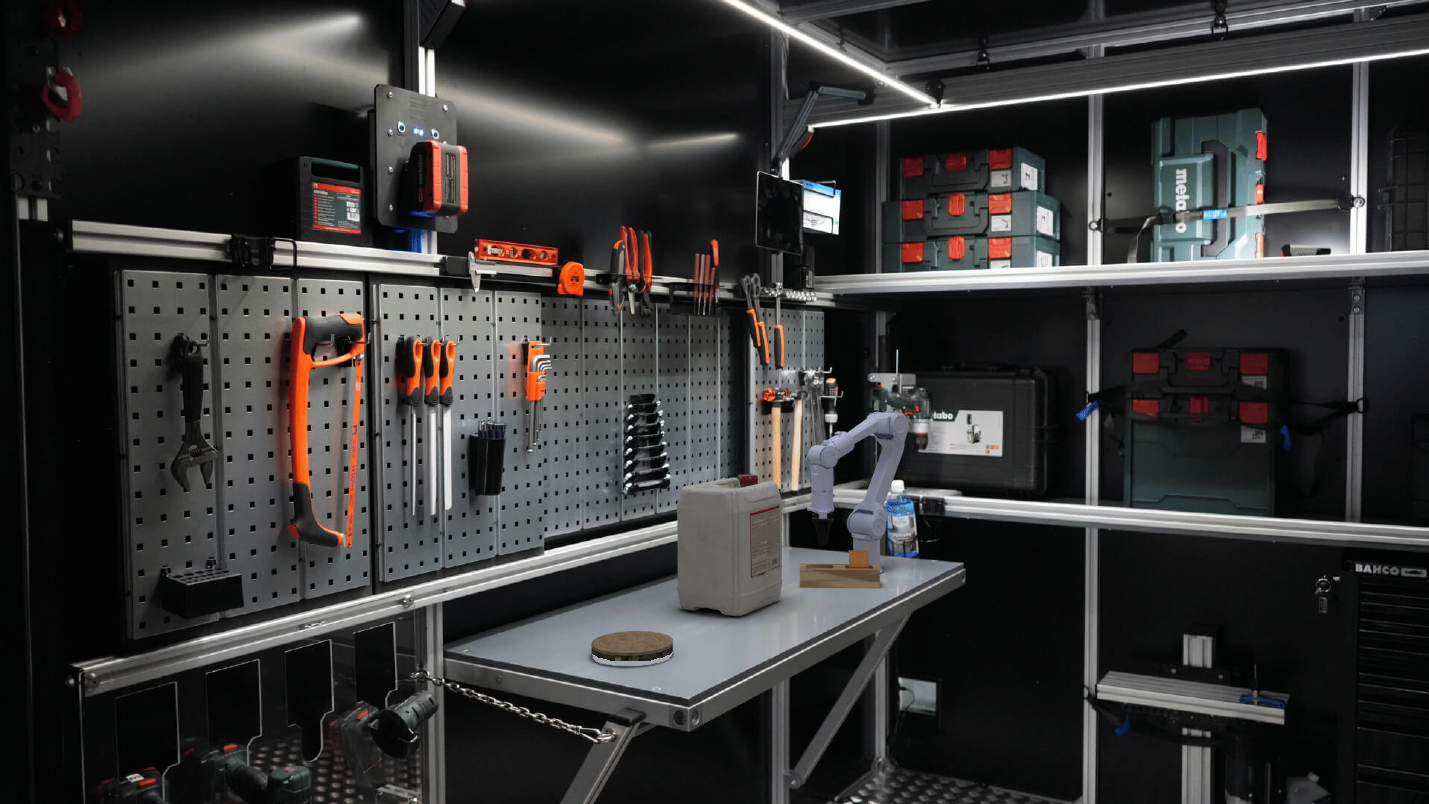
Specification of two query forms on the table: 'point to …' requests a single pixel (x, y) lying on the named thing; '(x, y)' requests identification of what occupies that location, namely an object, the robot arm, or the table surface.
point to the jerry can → (729, 545)
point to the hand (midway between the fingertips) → (822, 542)
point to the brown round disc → (632, 646)
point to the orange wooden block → (858, 559)
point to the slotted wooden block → (839, 576)
